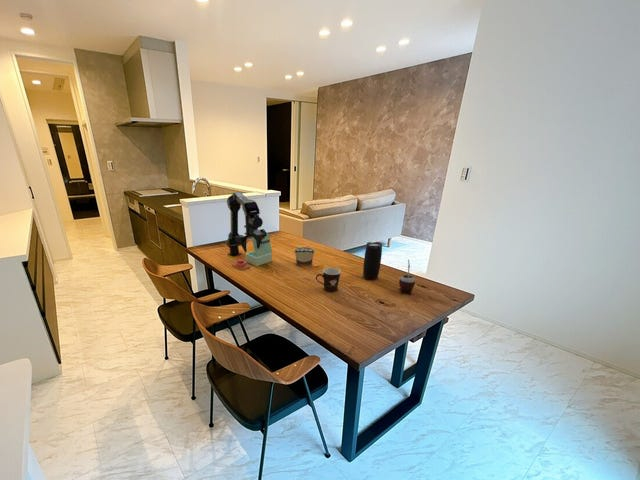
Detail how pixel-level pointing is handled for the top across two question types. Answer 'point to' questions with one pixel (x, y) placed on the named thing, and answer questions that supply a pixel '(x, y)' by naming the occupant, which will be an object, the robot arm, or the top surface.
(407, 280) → the mate gourd
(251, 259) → the machine
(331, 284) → the coffee mug
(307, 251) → the food container
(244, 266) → the button block
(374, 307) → the top surface
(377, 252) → the portable speaker
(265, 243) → the machine lid
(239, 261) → the button
